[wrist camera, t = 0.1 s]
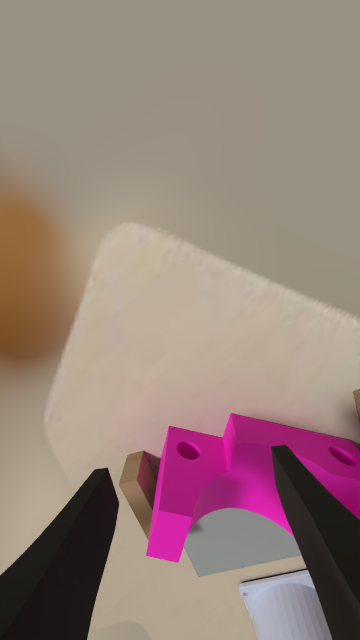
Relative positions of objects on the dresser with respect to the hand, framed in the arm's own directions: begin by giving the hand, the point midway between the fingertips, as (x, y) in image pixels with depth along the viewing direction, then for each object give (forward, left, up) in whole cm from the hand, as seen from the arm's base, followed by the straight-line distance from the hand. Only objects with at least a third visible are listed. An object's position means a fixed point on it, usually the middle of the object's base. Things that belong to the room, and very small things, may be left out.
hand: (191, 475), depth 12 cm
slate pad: (-18, -2, -10) cm, 21 cm away
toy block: (-9, -2, -10) cm, 14 cm away
